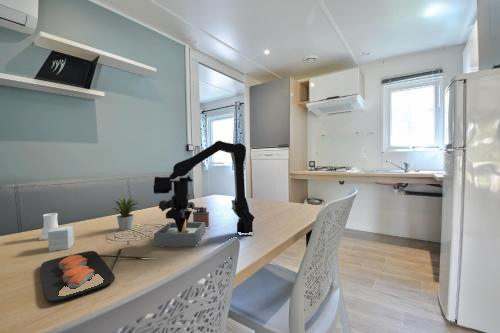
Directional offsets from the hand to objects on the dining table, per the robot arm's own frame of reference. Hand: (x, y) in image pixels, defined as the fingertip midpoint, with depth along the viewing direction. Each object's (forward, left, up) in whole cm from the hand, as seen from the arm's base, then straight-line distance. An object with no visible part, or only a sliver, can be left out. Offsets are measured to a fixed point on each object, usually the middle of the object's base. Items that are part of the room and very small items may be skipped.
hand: (181, 230), depth 96 cm
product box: (+43, +9, -4) cm, 44 cm away
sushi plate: (+16, +24, -5) cm, 29 cm away
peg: (0, 0, -1) cm, 1 cm away
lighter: (-4, -17, -4) cm, 18 cm away
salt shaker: (+57, -2, -4) cm, 57 cm away
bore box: (0, 0, -4) cm, 4 cm away
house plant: (+31, -13, -4) cm, 34 cm away
